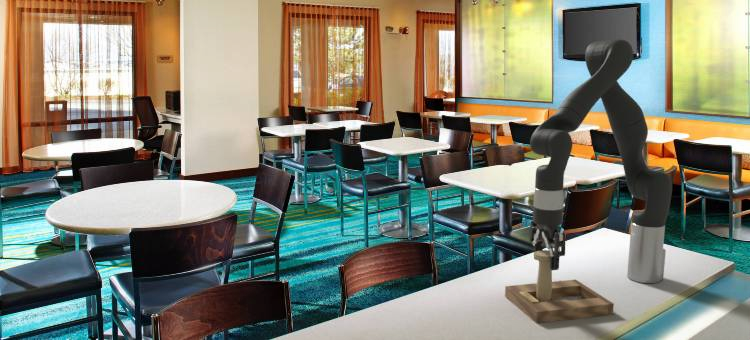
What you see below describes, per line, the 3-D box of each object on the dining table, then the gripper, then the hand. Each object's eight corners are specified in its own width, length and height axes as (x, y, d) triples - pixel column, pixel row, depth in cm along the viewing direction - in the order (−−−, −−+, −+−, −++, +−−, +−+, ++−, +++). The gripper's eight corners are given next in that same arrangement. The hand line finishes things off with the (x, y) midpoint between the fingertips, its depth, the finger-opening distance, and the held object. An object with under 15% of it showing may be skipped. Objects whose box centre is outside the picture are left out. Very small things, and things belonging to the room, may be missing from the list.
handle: (558, 308, 164) (561, 254, 161) (538, 311, 162) (540, 257, 159) (548, 301, 168) (551, 249, 166) (527, 304, 166) (530, 251, 163)
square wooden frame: (575, 289, 177) (575, 278, 177) (612, 314, 160) (613, 302, 159) (505, 296, 172) (505, 285, 171) (536, 323, 155) (536, 310, 154)
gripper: (576, 210, 154) (573, 272, 157) (547, 198, 167) (545, 254, 170) (549, 213, 152) (546, 275, 155) (522, 200, 166) (520, 257, 169)
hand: (545, 264), depth 163 cm, fingers open, 8 cm apart
